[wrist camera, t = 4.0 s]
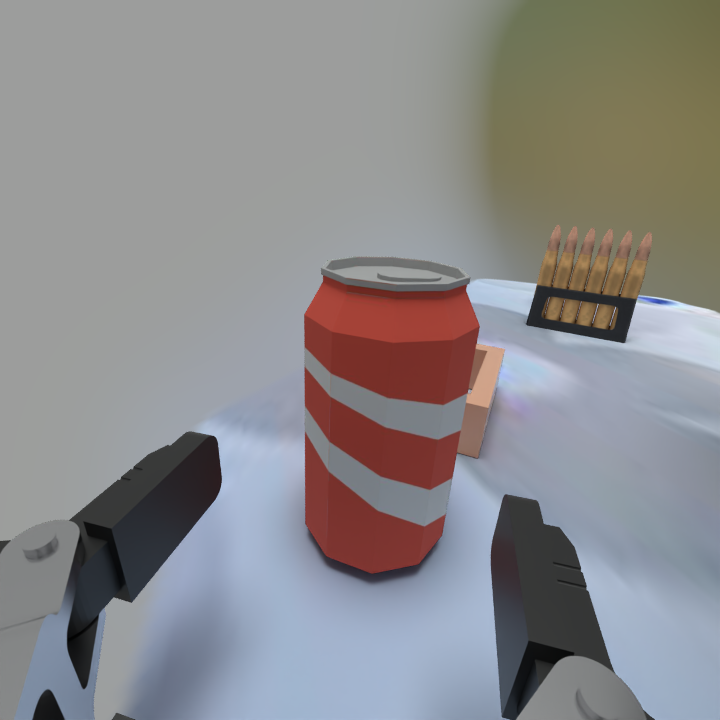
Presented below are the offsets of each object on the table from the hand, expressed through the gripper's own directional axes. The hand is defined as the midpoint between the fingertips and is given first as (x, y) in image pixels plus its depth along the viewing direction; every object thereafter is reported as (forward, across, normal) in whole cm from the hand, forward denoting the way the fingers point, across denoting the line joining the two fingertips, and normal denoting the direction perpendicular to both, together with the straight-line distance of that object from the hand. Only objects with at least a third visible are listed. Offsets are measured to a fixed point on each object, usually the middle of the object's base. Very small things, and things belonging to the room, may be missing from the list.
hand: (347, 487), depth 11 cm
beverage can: (+6, 0, +7) cm, 9 cm away
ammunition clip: (+42, -17, +7) cm, 46 cm away
